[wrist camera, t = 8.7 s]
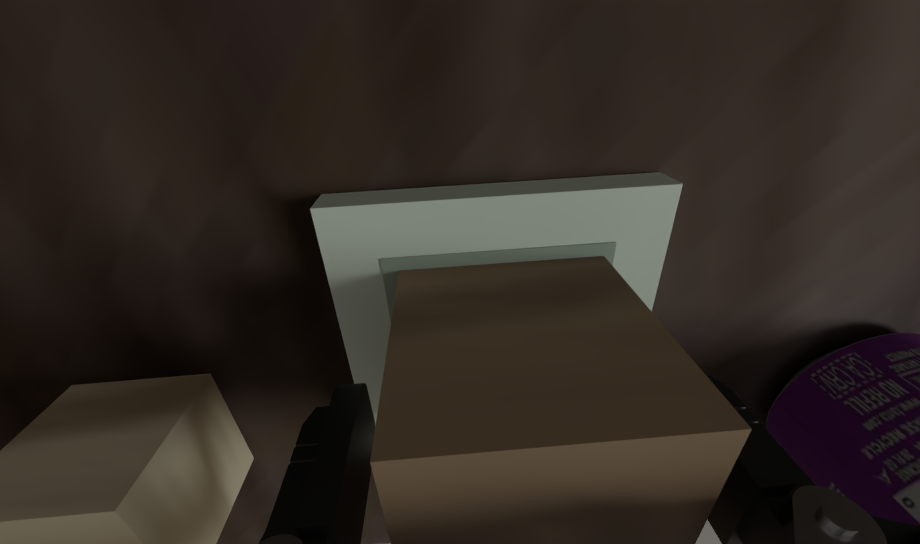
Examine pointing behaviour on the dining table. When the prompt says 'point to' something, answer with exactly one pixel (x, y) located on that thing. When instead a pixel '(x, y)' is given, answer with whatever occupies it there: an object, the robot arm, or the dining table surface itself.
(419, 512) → the walnut cube
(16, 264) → the dining table surface
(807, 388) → the beverage can
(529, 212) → the plate
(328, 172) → the dining table surface
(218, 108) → the dining table surface
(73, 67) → the dining table surface
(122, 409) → the beech cube
